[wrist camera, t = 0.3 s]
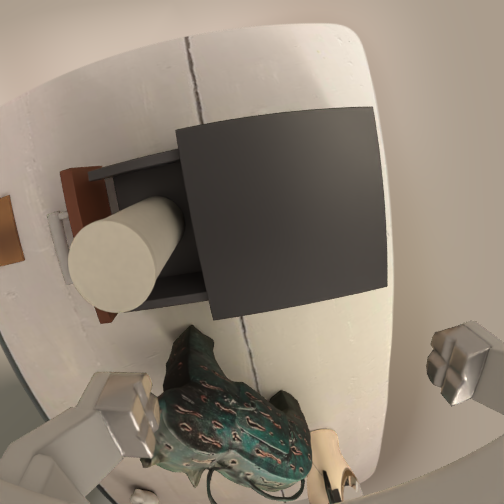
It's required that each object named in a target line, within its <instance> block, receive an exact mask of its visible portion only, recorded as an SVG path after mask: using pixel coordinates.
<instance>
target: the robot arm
mask: <svg viewBox="0 0 504 504" xmlns="http://www.w3.org/2000/svg"><path fill="white" fill-rule="evenodd" d="M431 346H432V348H433V351H432V352H431V353H430V355H429V356H428V359H427V364H426V368H427V375H428V377H429V379H430V381H431V382H432V383H433V385H435V386H438V387H441V394H442V396H443V397H444V398H445V399H446V400H447V402H448V403H449V404H450V405H451V406H454V405H456V404H459V403H461V402H464V401H466V400H468V399H471V398H472V399H473V400H475V401H477V402H479V403H481V404H483V405H485V406H487V407H489V408H491V409H493V410H495V411H497V412H499V413H501V414H503V415H504V343H503V342H502V341H501V340H500V339H498V338H497V337H496V336H495V335H493V334H492V333H491V332H489V331H488V330H487V329H485V328H484V327H483V326H481V325H480V324H478V323H477V322H476V321H469V322H466V323H463V324H460V325H458V326H455V327H452V328H448V329H445V330H442V331H438V332H435V334H434V335H433V337H432V341H431ZM152 385H153V384H152V382H151V379H150V376H149V375H148V374H147V373H128V372H96V373H94V375H93V377H92V378H91V380H90V382H89V384H88V385H87V387H86V389H85V391H84V393H83V395H82V396H81V398H80V400H79V402H78V404H77V406H76V408H73V407H71V408H69V409H67V410H66V411H64V412H62V413H61V414H59V415H58V416H56V417H54V418H53V419H51V420H49V421H48V422H46V423H44V424H43V425H41V426H39V427H38V428H36V429H34V430H33V431H31V432H29V433H28V434H26V435H24V436H23V437H21V438H19V439H17V440H16V441H14V442H12V443H11V444H9V446H8V448H7V449H6V451H5V452H4V454H3V456H2V458H1V459H0V504H90V503H89V501H88V500H87V499H86V498H85V496H86V495H87V494H88V493H89V492H90V491H91V490H92V489H94V487H96V486H97V485H98V484H99V483H100V482H101V481H102V480H103V479H104V478H105V477H106V476H107V475H108V474H109V473H110V472H111V471H112V470H113V469H114V468H115V467H116V466H117V465H118V464H119V463H120V461H121V460H122V459H123V457H136V458H153V455H154V450H155V445H156V441H157V440H156V438H155V435H154V432H156V431H157V430H158V429H159V426H160V407H159V402H158V399H157V397H156V396H155V395H154V394H152V393H151V389H152ZM335 504H504V435H502V436H500V437H499V438H497V439H495V440H494V441H492V442H491V443H488V444H487V445H485V446H483V447H481V448H480V449H478V450H476V451H474V452H472V453H470V454H468V455H466V456H465V457H462V458H460V459H458V460H457V461H454V462H452V463H450V464H448V465H446V466H444V467H442V468H440V469H437V470H435V471H432V472H430V473H428V474H426V475H423V476H420V477H418V478H415V479H413V480H410V481H408V482H405V483H402V484H399V485H397V486H394V487H391V488H388V489H385V490H382V491H379V492H376V493H372V494H369V495H366V496H362V497H358V498H355V499H351V500H347V501H343V502H339V503H335Z"/></svg>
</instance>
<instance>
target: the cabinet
mask: <svg viewBox="0 0 504 504" xmlns="http://www.w3.org/2000/svg"><path fill="white" fill-rule="evenodd" d="M175 131H176V137H177V144H178V150H179V155H180V161H181V167H182V173H183V178H184V184H185V189H186V195H187V200H188V205H189V210H190V215H191V221H192V226H193V231H194V235H195V240H196V245H197V250H198V255H199V259H200V264H201V269H202V273H203V278H204V282H205V287H206V291H207V295H208V300H209V304H210V308H211V313H212V317H213V320H220V319H226V318H233V317H239V316H245V315H251V314H256V313H262V312H268V311H273V310H279V309H284V308H289V307H295V306H300V305H305V304H310V303H315V302H320V301H325V300H330V299H334V298H339V297H344V296H348V295H353V294H357V293H362V292H366V291H371V290H375V289H379V288H383V287H387V236H386V217H385V202H384V190H383V179H382V169H381V160H380V152H379V144H378V137H377V130H376V123H375V117H374V111H373V107H346V108H328V109H314V110H302V111H291V112H282V113H273V114H265V115H258V116H250V117H243V118H237V119H230V120H224V121H219V122H213V123H207V124H202V125H197V126H192V127H187V128H182V129H177V130H175Z"/></svg>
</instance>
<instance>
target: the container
mask: <svg viewBox="0 0 504 504" xmlns="http://www.w3.org/2000/svg"><path fill="white" fill-rule="evenodd" d="M184 228H185V221H184V216H183V214H182V211H181V210H180V208H179V207H178V206H177V205H176V204H175V203H174V202H173V201H172V200H170V199H168V198H165V197H160V196H154V197H149V198H147V199H145V200H142V201H140V202H138V203H136V204H134V205H132V206H129V207H127V208H125V209H123V210H121V211H119V212H117V213H115V214H113V215H111V216H109V217H107V218H105V219H102V220H98V221H95V222H93V223H91V224H89V225H87V226H85V227H84V228H82V229H81V230H80V231H79V232H78V233H77V235H76V236H75V237H74V239H73V241H72V243H71V246H70V249H69V254H68V268H69V273H70V277H71V279H72V282H73V284H74V286H75V288H76V289H77V291H78V292H79V293H80V295H81V296H82V297H83V298H84V299H85V300H86V301H87V302H89V303H90V304H91V305H93V306H94V307H96V308H98V309H100V310H103V311H107V312H112V313H123V312H127V311H130V310H133V309H135V308H137V307H138V306H140V305H141V304H142V303H143V302H144V301H145V300H146V299H147V298H148V296H149V295H150V293H151V291H152V289H153V287H154V284H155V281H156V279H157V277H158V276H159V274H160V272H161V271H162V269H163V267H164V265H165V264H166V262H167V260H168V259H169V257H170V256H171V254H172V252H173V251H174V249H175V247H176V246H177V244H178V242H179V241H180V239H181V237H182V235H183V233H184Z"/></svg>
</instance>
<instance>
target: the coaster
mask: <svg viewBox="0 0 504 504" xmlns="http://www.w3.org/2000/svg"><path fill="white" fill-rule="evenodd" d="M24 260H25V258H24V255H23V251H22V248H21V244H20V240H19V236H18V232H17V228H16V224H15V220H14V215H13V210H12V205H11V200H10V195H8V196H5V197H3V198H0V266H4V265H8V264H12V263H16V262H20V261H24Z"/></svg>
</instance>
